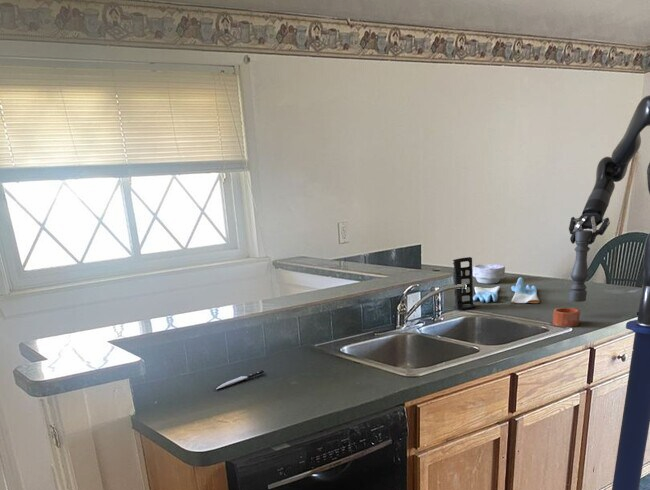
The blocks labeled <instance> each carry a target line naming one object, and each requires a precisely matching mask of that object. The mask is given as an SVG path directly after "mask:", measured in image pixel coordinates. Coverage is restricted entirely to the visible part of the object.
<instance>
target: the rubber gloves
mask: <svg viewBox="0 0 650 490" xmlns="http://www.w3.org/2000/svg"><path fill="white" fill-rule="evenodd" d="M473 289H474V292H475V294H473V302H476V301H478V299H479V301H480V302H481V303H484V302H485V303H486V304H488V303H490V302H491V300H492V302H493V303H496V302H497V301H498V299H499V291H500V289H501V286H500V285H497V286H495V287H481V286H474V288H473ZM511 291H512V292H513V293H514V294H513V297H512V299H511V301H510V303H511V304H527V303H528V304H539V303H540V298H539V297H538V290H537V287H536V286H535V285H532V286H530V284H526V286H525V280H524V278H523V277H518V279H517V280H516V284H515V285H512V286H511Z"/></svg>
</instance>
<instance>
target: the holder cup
mask: <svg viewBox="0 0 650 490" xmlns="http://www.w3.org/2000/svg"><path fill="white" fill-rule="evenodd" d="M580 317H581V310H580V309H579V308H575V307H557V308H554V309H553V315H552V325H554V326H557V327H562V328H572V327H578V326H579V325H580Z"/></svg>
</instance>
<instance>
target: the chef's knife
mask: <svg viewBox="0 0 650 490" xmlns="http://www.w3.org/2000/svg"><path fill="white" fill-rule="evenodd" d="M263 373H265V371H264V370H263V369H260V370H259V371H257V372H254V373H251V374H247V375H245V376H243V375H242V376H238V377H236V378H234V379H231V380H228V381H226V382H223V383H222V384H220V385H219V386H217V387H216V388H215V390H220V389H222V388H225V387H228V386H231V385H233V384H236V383H239V382H242V381H244V380H248V379H251V378H253V377H257V376H258V375H261V374H263Z"/></svg>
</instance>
